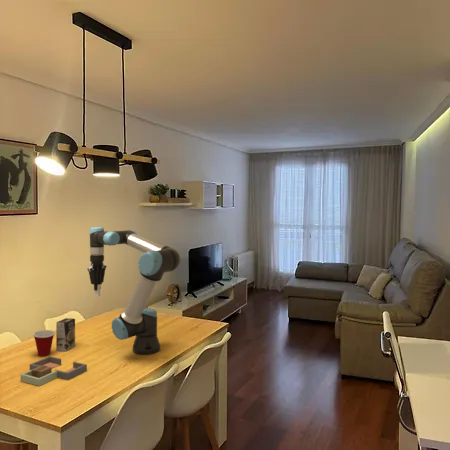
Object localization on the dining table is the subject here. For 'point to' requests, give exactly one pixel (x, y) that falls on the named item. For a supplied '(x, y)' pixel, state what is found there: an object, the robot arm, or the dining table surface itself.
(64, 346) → the coffee box
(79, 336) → the dining table surface
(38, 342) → the plastic cup
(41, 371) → the walnut block
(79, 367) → the channel
